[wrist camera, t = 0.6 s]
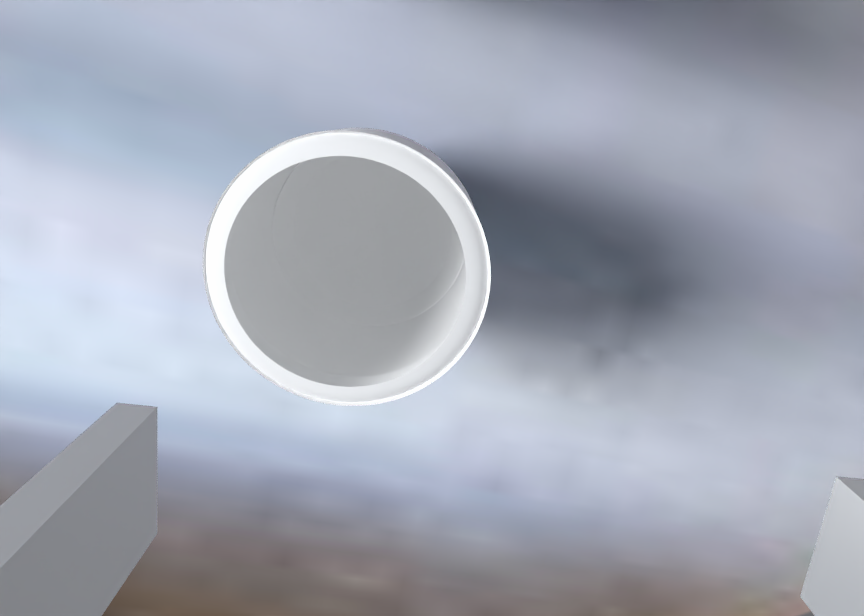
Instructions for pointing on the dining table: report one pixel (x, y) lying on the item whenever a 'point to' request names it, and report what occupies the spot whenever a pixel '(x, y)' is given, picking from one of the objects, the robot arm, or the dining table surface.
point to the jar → (347, 266)
